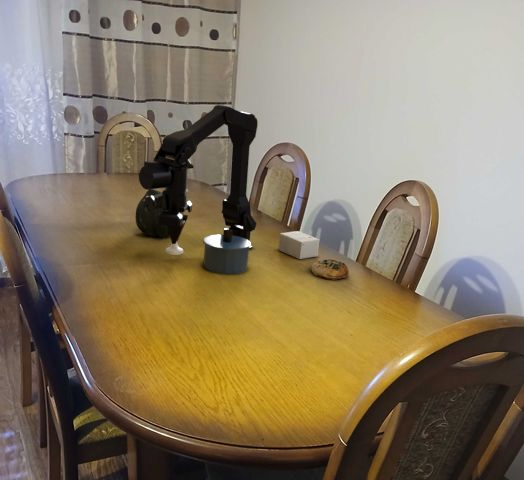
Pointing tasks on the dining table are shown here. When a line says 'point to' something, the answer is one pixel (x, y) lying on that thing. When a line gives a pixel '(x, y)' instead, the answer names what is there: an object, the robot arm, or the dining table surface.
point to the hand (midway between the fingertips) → (174, 242)
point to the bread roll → (330, 269)
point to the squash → (150, 218)
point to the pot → (225, 260)
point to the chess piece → (174, 249)
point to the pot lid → (227, 241)
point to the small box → (298, 244)
